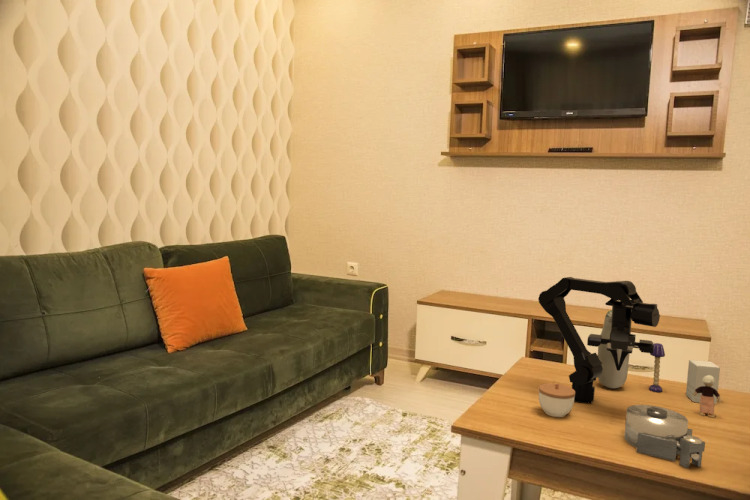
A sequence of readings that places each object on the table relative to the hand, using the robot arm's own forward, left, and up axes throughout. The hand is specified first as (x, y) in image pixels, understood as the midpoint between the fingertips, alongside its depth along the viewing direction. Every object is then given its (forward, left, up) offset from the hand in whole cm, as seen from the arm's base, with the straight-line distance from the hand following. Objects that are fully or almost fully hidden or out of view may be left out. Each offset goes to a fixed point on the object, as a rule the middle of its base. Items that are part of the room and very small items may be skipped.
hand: (618, 370), depth 173 cm
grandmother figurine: (+26, +11, -13) cm, 31 cm away
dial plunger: (+18, -29, -11) cm, 36 cm away
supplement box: (+26, +26, -13) cm, 39 cm away
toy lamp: (+12, +28, -13) cm, 33 cm away
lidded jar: (-16, -13, -13) cm, 25 cm away
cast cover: (+11, -20, -13) cm, 27 cm away
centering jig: (+16, -28, -13) cm, 35 cm away
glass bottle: (-2, +23, -13) cm, 27 cm away
